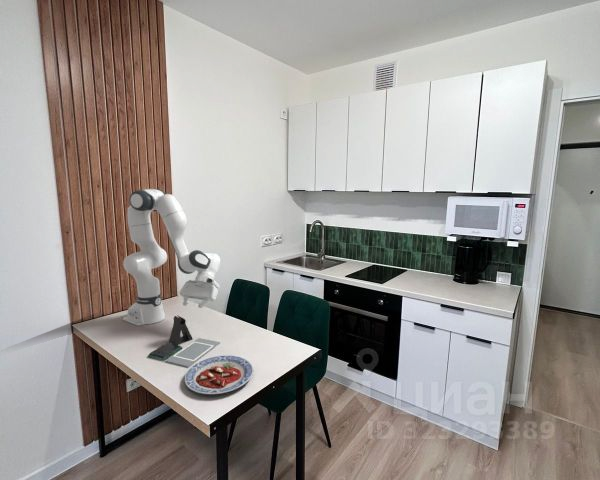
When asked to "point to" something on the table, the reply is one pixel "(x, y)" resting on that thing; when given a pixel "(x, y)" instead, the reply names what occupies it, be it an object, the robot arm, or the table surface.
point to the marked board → (192, 352)
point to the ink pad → (165, 351)
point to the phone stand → (179, 331)
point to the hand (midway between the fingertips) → (192, 306)
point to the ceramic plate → (219, 374)
